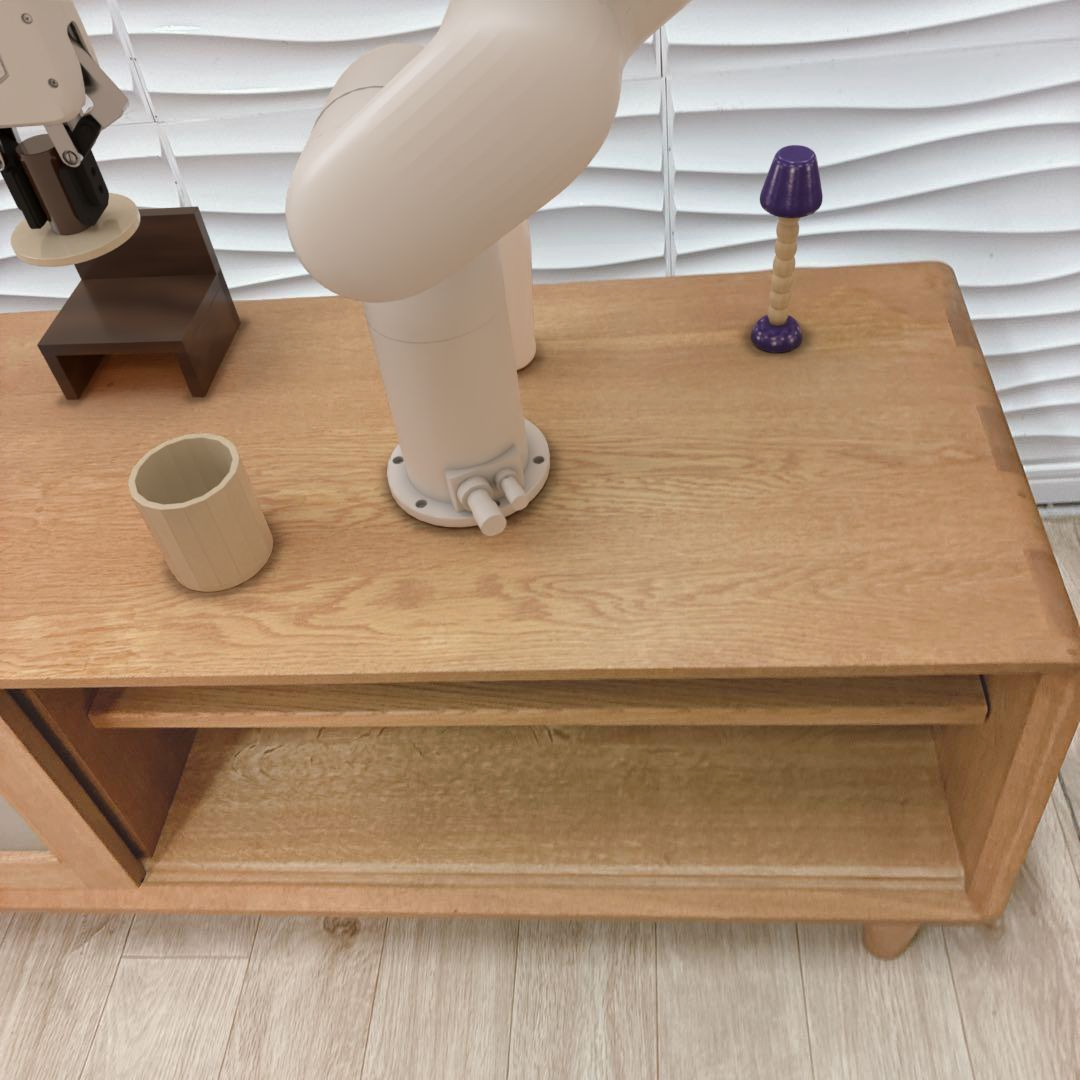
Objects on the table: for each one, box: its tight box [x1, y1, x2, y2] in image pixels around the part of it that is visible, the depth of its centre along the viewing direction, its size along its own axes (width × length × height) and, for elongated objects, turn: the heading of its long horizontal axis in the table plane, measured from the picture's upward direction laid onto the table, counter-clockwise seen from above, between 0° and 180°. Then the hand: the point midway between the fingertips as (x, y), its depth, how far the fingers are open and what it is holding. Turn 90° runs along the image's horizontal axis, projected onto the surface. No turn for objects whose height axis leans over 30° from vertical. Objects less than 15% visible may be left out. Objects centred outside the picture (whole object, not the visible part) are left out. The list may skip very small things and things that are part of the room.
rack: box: [36, 206, 241, 401], centre depth 94 cm, size 11×13×12 cm
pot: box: [127, 432, 274, 593], centre depth 77 cm, size 8×8×8 cm
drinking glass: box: [498, 217, 537, 371], centre depth 88 cm, size 7×7×15 cm
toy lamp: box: [750, 144, 823, 353], centre depth 85 cm, size 5×5×17 cm
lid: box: [10, 133, 140, 268], centre depth 69 cm, size 8×8×7 cm
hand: (70, 214), depth 70 cm, fingers closed on lid, 2 cm apart
